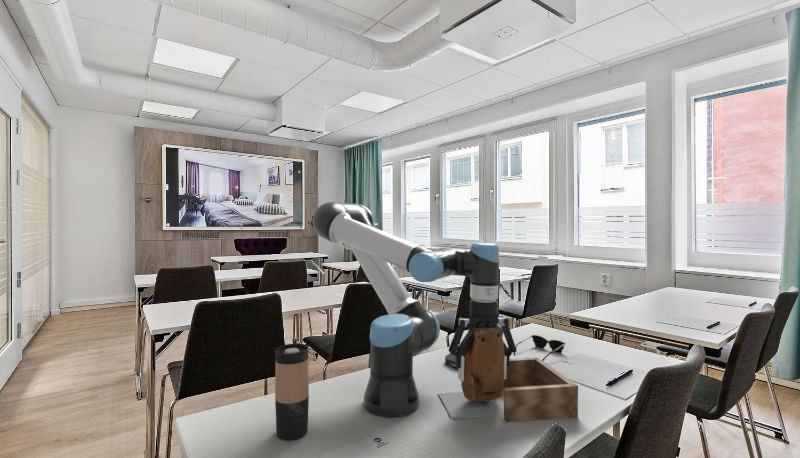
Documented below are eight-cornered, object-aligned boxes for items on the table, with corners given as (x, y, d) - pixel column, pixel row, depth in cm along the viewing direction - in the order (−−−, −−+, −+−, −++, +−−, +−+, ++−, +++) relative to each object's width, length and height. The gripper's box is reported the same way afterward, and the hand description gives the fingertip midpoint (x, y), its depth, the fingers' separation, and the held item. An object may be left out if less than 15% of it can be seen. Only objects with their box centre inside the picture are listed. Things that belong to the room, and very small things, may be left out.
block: (489, 388, 112) (491, 320, 111) (506, 400, 105) (508, 327, 104) (457, 394, 108) (459, 323, 107) (472, 406, 101) (473, 330, 100)
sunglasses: (565, 355, 146) (565, 342, 146) (544, 368, 136) (543, 354, 135) (532, 346, 156) (532, 334, 156) (510, 357, 146) (509, 344, 146)
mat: (451, 419, 98) (451, 417, 98) (438, 394, 111) (438, 393, 111) (496, 415, 99) (496, 414, 99) (478, 392, 113) (478, 390, 113)
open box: (506, 422, 96) (506, 390, 96) (477, 386, 117) (477, 360, 117) (577, 417, 99) (578, 386, 99) (537, 383, 120) (537, 357, 119)
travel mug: (311, 423, 95) (311, 343, 95) (305, 441, 88) (304, 353, 87) (280, 424, 95) (280, 343, 95) (271, 441, 88) (270, 354, 87)
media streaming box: (499, 365, 136) (499, 356, 136) (474, 376, 126) (474, 367, 126) (466, 354, 146) (466, 346, 146) (440, 364, 137) (440, 355, 137)
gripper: (445, 303, 100) (443, 386, 101) (531, 301, 104) (529, 381, 105) (438, 297, 108) (436, 374, 108) (518, 296, 111) (516, 371, 112)
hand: (482, 378), depth 106 cm, fingers closed on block, 11 cm apart
